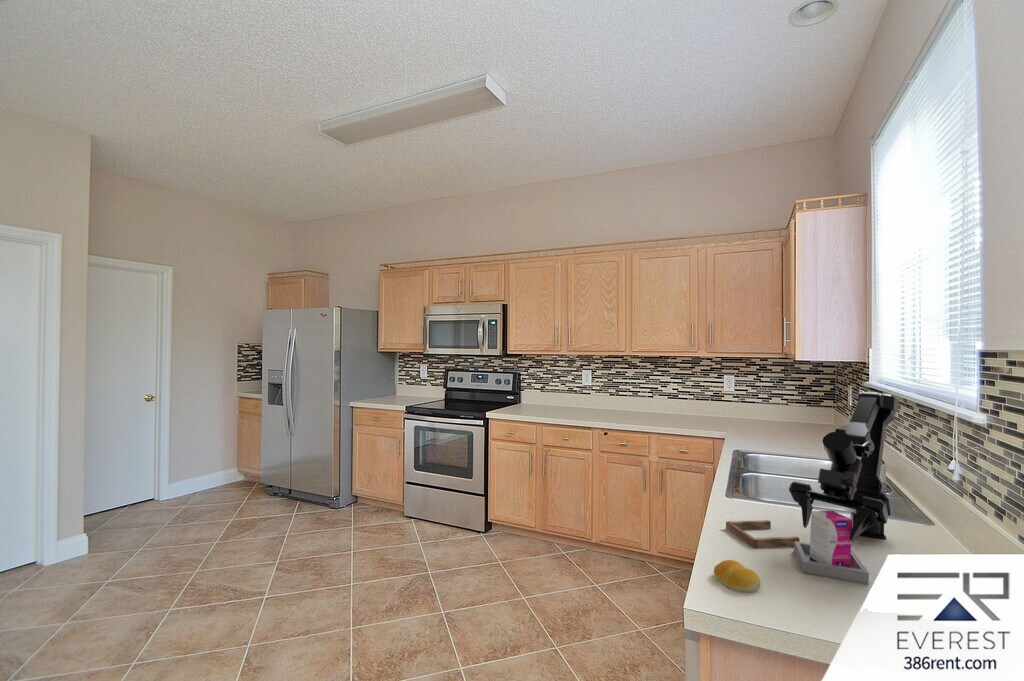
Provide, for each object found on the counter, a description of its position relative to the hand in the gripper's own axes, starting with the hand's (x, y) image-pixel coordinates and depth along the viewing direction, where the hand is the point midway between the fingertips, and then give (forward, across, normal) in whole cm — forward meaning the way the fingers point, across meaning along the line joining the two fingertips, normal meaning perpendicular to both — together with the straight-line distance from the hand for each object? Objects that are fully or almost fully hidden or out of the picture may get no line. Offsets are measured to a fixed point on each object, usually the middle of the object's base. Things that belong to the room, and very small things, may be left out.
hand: (827, 533), depth 107 cm
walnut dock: (+1, -17, +10) cm, 20 cm away
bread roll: (+22, -10, -10) cm, 26 cm away
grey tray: (+5, 0, +7) cm, 8 cm away
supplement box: (+4, 0, +7) cm, 8 cm away
